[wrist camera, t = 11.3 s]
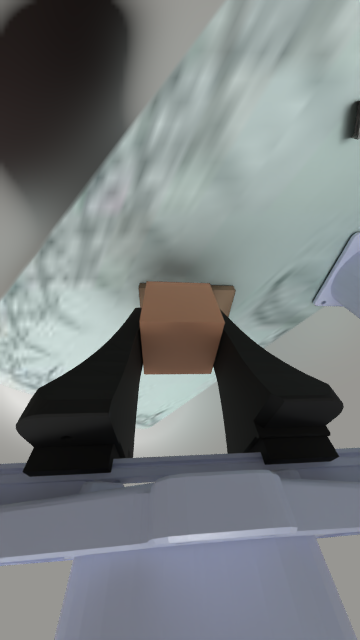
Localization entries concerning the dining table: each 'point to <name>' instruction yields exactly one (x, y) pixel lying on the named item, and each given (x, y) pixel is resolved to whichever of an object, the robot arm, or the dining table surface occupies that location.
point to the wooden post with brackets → (357, 124)
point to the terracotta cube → (179, 328)
